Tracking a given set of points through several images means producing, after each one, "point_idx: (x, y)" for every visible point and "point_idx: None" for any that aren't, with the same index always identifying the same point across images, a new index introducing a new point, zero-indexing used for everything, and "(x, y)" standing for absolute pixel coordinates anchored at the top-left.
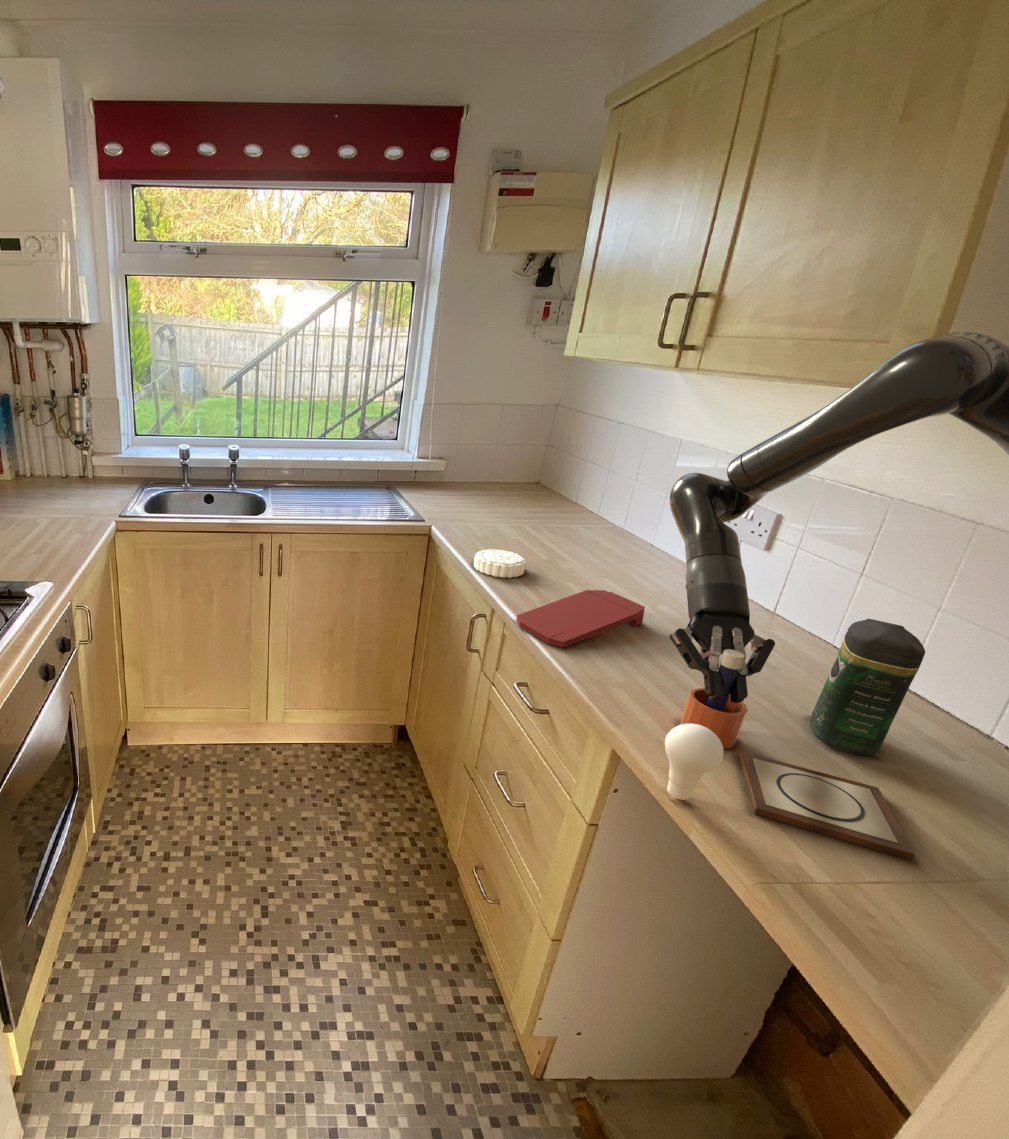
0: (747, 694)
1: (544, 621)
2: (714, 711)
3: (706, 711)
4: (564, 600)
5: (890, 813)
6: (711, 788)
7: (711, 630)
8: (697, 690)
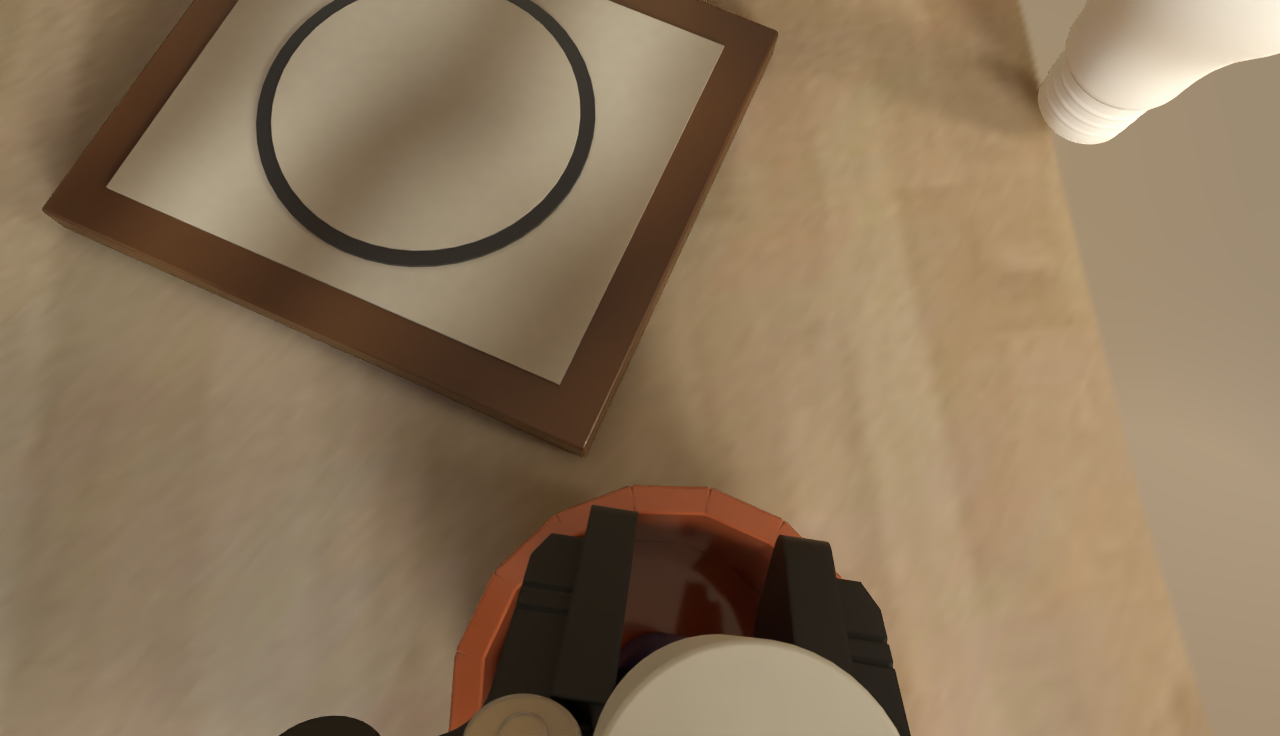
0: (536, 550)
1: None
2: (786, 525)
3: None
4: None
5: (172, 41)
6: (876, 192)
7: None
8: None
